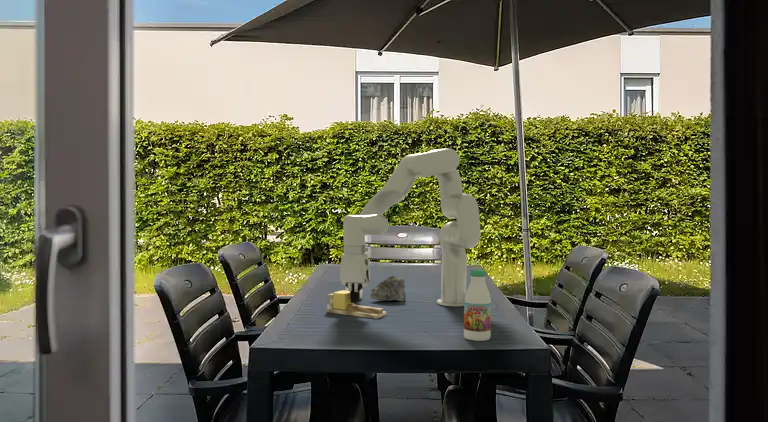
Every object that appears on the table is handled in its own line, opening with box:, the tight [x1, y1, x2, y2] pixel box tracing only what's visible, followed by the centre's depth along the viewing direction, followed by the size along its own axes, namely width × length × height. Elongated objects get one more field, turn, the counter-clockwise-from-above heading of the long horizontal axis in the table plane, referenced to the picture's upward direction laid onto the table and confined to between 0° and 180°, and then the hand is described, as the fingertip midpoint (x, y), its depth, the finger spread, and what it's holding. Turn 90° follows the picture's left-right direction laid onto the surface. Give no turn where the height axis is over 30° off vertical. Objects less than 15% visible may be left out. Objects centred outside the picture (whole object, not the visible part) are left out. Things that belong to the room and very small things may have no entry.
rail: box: [326, 292, 387, 320], centre depth 196 cm, size 20×7×6 cm, turn 60°
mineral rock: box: [370, 275, 407, 302], centre depth 220 cm, size 13×11×10 cm
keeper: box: [332, 289, 355, 310], centre depth 198 cm, size 5×6×6 cm
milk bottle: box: [463, 269, 492, 342], centre depth 163 cm, size 8×8×20 cm
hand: (355, 302), depth 196 cm, fingers closed
